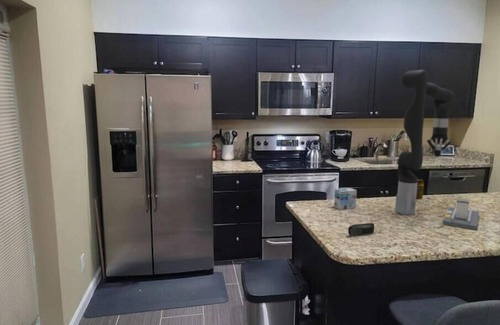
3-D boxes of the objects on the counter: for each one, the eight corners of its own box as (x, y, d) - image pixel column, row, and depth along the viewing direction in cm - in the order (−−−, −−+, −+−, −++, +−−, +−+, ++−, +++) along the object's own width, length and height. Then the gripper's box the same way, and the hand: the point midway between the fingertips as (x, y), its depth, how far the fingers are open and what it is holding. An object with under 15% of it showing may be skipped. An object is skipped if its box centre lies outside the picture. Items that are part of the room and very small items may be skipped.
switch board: (448, 210, 192) (448, 204, 191) (478, 215, 184) (479, 208, 183) (442, 224, 169) (442, 217, 168) (476, 230, 161) (477, 223, 160)
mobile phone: (371, 221, 159) (345, 225, 153) (376, 223, 156) (349, 227, 150) (370, 232, 160) (344, 235, 154) (375, 234, 157) (348, 238, 151)
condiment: (424, 198, 218) (426, 179, 216) (419, 200, 212) (421, 181, 210) (413, 196, 223) (414, 178, 221) (407, 198, 217) (409, 180, 216)
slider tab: (455, 215, 176) (457, 198, 174) (467, 217, 173) (469, 200, 171) (455, 217, 172) (456, 200, 171) (467, 219, 169) (469, 202, 168)
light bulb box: (339, 210, 193) (340, 191, 191) (333, 206, 199) (334, 188, 197) (356, 208, 195) (357, 190, 194) (349, 205, 202) (350, 187, 200)
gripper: (426, 126, 198) (423, 156, 200) (453, 127, 190) (450, 158, 193) (428, 125, 204) (425, 154, 206) (454, 126, 196) (451, 156, 199)
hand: (437, 156), depth 200 cm, fingers closed
